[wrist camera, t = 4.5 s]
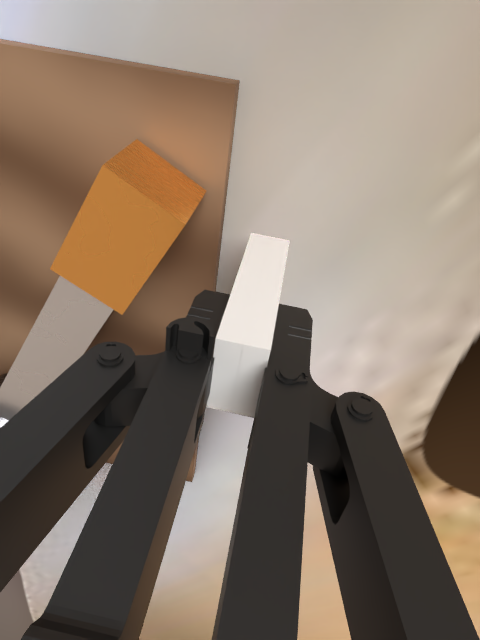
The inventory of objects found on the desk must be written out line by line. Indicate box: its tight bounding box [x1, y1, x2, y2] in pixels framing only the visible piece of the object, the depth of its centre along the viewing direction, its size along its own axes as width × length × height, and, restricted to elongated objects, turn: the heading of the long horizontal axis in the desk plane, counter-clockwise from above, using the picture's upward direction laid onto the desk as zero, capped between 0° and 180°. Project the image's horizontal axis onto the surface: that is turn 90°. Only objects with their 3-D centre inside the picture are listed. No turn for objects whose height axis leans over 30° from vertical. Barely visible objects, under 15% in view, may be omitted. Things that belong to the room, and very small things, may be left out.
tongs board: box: [0, 39, 239, 482], centre depth 22 cm, size 24×18×4 cm
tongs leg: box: [0, 139, 206, 428], centre depth 22 cm, size 20×4×4 cm, turn 144°
